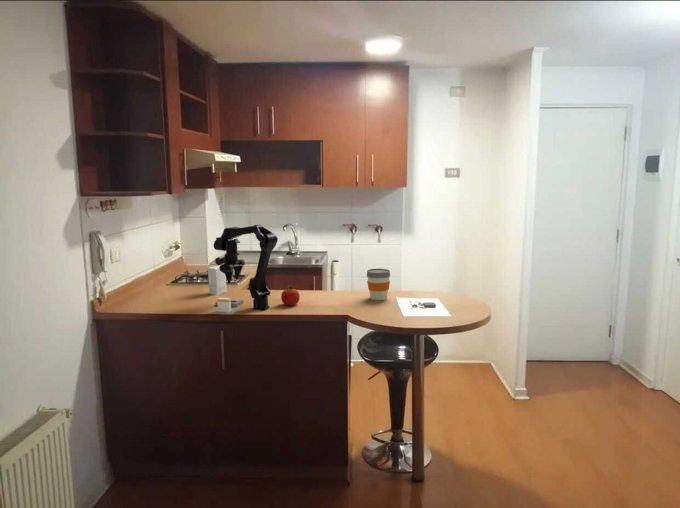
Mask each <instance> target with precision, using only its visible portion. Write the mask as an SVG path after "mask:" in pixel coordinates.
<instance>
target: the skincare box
mask: <svg viewBox="0 0 680 508" xmlns="http://www.w3.org/2000/svg"><path fill="white" fill-rule="evenodd" d="M220 266H221V265H219V266H218V265H217V264H216V265H214V266H210V267H207V275H208V278H207V279H208V292H209V295H216V296H217V295H222V294H226V293H228V291H227V289H228V288H227V278H226V276H225V274H224V273H223V272H221V271H220V270H219V267H220Z"/></svg>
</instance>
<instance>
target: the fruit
mask: <svg viewBox="0 0 680 508" xmlns="http://www.w3.org/2000/svg"><path fill="white" fill-rule="evenodd" d="M286 287H287V288H288V289H287V288H285V289H284V290H283V291H282V293H281V297H280V299H281V301H282V303H283V304H284V305H285V306H289V307H290V306H291V307H292V306H296V305H297V304H298V303H299V301H300V293H299V291H298V289H295V288H293V285H287V286H286Z"/></svg>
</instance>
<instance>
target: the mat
mask: <svg viewBox="0 0 680 508" xmlns="http://www.w3.org/2000/svg"><path fill="white" fill-rule="evenodd" d="M239 311H240V309H237V308H236V309H233V308H231V311H230V312H219V311H218V308H216V309H214V310H213V311H211V312H209V314H215V315H216V314H217V315H218V314H219V315H230V316H231V315H234V314H236V313H238V312H239Z"/></svg>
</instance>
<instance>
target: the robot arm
mask: <svg viewBox="0 0 680 508" xmlns="http://www.w3.org/2000/svg"><path fill="white" fill-rule="evenodd" d="M248 234H249V235H251V234H254V236H255V238H256V240H257V241H258V242H259V248H260V253H259V254H260V255H259V258H258V263H257V267H256V271H255V276H254V277H250V279H249V282H248V285H247V286H248V291H249V294H250V297H251V299H253V300H252V303H253V304H252V305H253V308H252V309H253V310H257V311H258V310H260V311H266V310H268V309H269V308H271V307H270V306H269V296H271V290H270V289H269V288H268V287H267V280H266V275H267V269H268V266H269V262H270V259H271V258H270V257H271V254H272V252H273V250H274V249H275V248H276V246H277V243H278V241H279V238H278V237H277V235H276V233H273V231H272V230H270V229H268V228H266V227H265V226H264V225H262V224H254V225H250V226H244V227H243V226H242V227H239V226H232V227H225V228H223V232H222V234H221V236H219V237H216V238H215V241H213V246H212V247H213V249H214V250H215V251H223V252H225V254H224V256H223V257H220V256H219V257H215V260H214V264H215V265H216V266H217V265H218V266H220V267H219V270H220V271H221V272H223V273H224V274H225V276H226V282H227V284H231V283H232V281H233V280H232V279H233V274H234V277H235V280H239V278H240V275H241V272H242V270H243V269H244V265H246V261H245V260H244V259H243V258H239V257H238V256H239V255H240V253H239V252H238V244H241V241H240V240H239V239H238V238H239V237H241V236H243V235H248ZM238 258H239V259H238Z"/></svg>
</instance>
